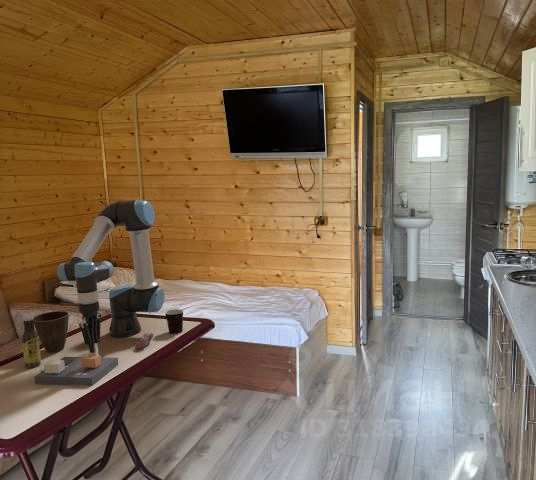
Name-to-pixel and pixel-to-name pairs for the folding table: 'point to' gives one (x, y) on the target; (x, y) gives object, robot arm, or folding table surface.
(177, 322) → the coffee mug
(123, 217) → the robot arm
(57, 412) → the folding table surface
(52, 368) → the block
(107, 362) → the board
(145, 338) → the pink lumpy piece
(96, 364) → the block
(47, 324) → the plant pot
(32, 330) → the sauce bottle
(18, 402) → the folding table surface
